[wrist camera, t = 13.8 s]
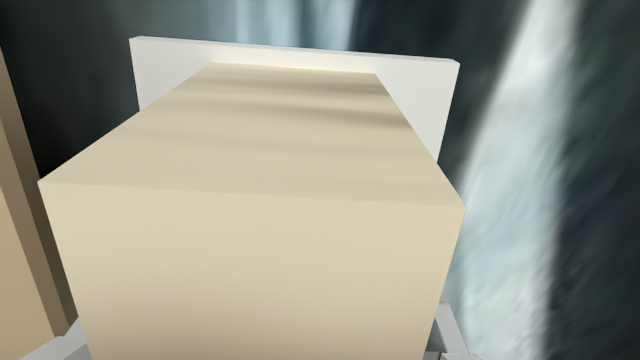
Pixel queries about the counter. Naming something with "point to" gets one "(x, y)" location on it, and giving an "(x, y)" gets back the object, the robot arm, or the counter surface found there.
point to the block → (257, 223)
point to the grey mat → (392, 70)
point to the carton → (26, 244)
